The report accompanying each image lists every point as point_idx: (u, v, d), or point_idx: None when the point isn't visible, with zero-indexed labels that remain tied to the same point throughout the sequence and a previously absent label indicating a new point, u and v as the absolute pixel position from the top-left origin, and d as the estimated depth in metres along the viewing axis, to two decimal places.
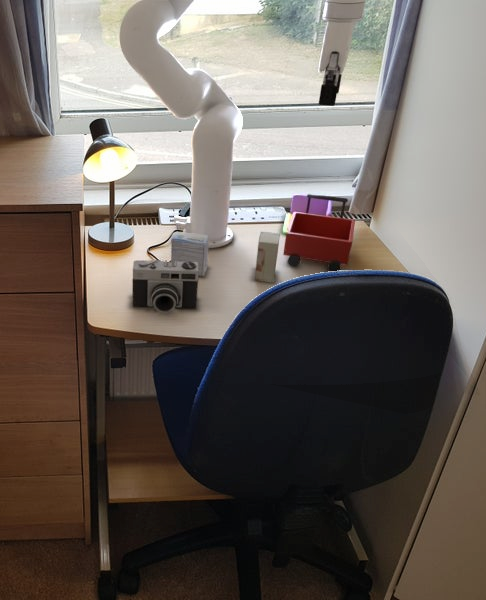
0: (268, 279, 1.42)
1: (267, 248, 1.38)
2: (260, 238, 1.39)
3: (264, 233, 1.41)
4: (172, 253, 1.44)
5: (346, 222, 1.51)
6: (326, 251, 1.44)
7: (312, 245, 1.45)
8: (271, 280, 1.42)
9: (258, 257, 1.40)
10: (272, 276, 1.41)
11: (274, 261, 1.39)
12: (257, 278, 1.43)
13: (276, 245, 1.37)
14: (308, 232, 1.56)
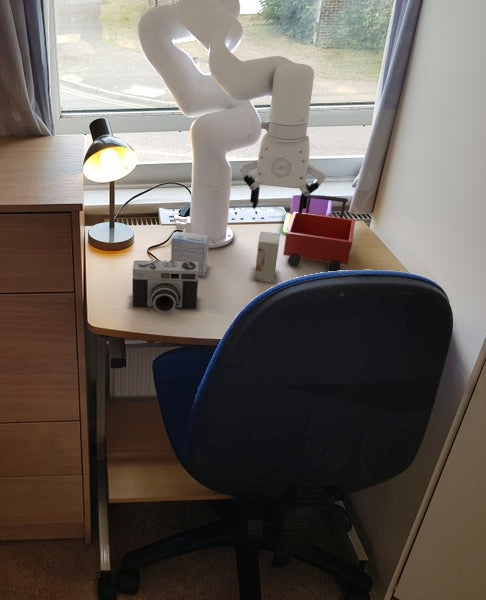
0: (268, 279, 1.42)
1: (267, 248, 1.38)
2: (260, 238, 1.39)
3: (264, 233, 1.41)
4: (172, 253, 1.44)
5: (346, 222, 1.51)
6: (326, 251, 1.44)
7: (312, 245, 1.45)
8: (271, 280, 1.42)
9: (258, 257, 1.40)
10: (272, 276, 1.41)
11: (274, 261, 1.39)
12: (257, 278, 1.43)
13: (276, 245, 1.37)
14: (308, 232, 1.56)
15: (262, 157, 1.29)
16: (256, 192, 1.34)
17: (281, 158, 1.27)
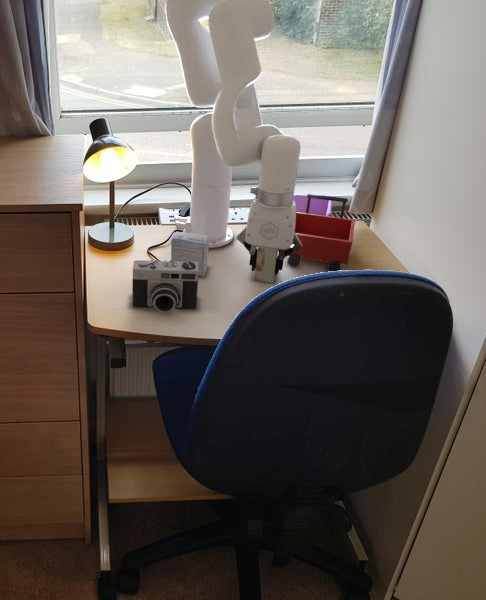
0: (268, 279, 1.42)
1: (267, 248, 1.38)
2: None
3: None
4: (172, 253, 1.44)
5: (346, 222, 1.51)
6: (326, 251, 1.44)
7: (312, 245, 1.45)
8: (271, 280, 1.42)
9: (258, 257, 1.40)
10: (272, 276, 1.41)
11: (274, 261, 1.39)
12: (257, 278, 1.43)
13: None
14: (308, 232, 1.56)
15: (251, 220, 1.36)
16: (255, 257, 1.41)
17: (269, 222, 1.34)
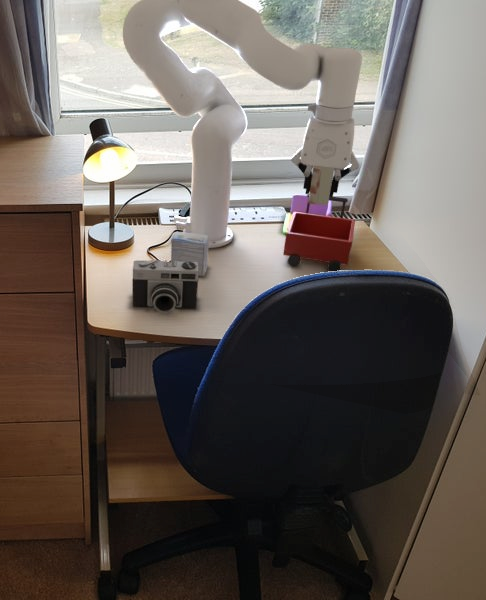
0: (322, 201, 1.40)
1: (323, 168, 1.36)
2: None
3: None
4: (172, 253, 1.44)
5: (346, 222, 1.51)
6: (326, 251, 1.44)
7: (312, 245, 1.45)
8: (326, 203, 1.40)
9: (313, 178, 1.38)
10: (327, 198, 1.39)
11: (330, 182, 1.37)
12: (311, 201, 1.41)
13: None
14: (308, 232, 1.56)
15: (308, 138, 1.34)
16: (310, 179, 1.40)
17: (327, 140, 1.33)
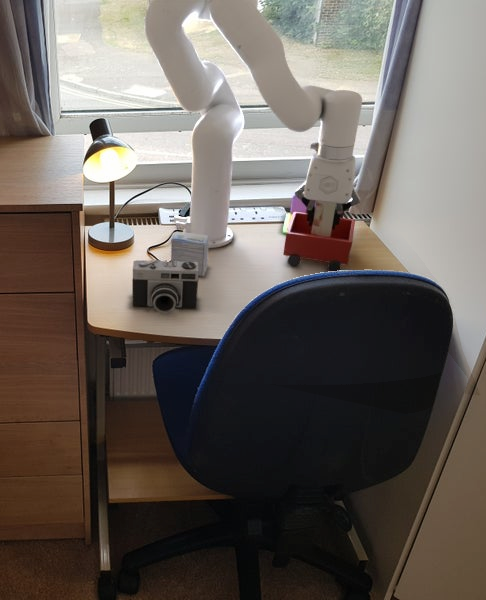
0: (325, 234, 1.46)
1: (325, 202, 1.42)
2: None
3: None
4: (172, 253, 1.44)
5: (346, 222, 1.51)
6: (326, 251, 1.44)
7: (312, 245, 1.45)
8: (328, 235, 1.46)
9: (316, 212, 1.44)
10: (329, 231, 1.45)
11: (332, 215, 1.43)
12: (314, 233, 1.47)
13: None
14: (308, 232, 1.56)
15: (311, 174, 1.40)
16: (313, 212, 1.45)
17: (329, 176, 1.39)
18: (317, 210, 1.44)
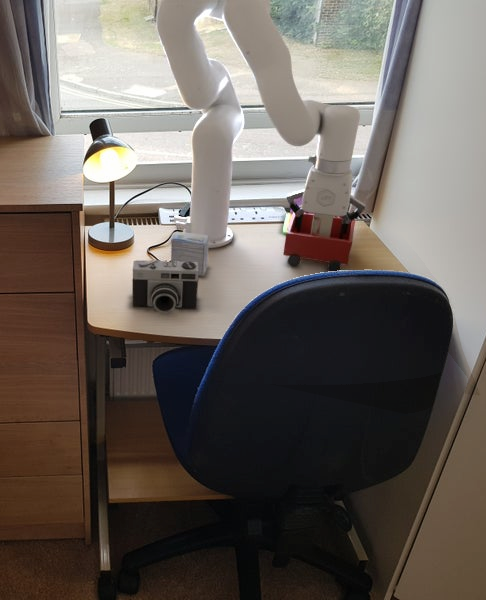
0: None
1: (323, 216, 1.44)
2: None
3: None
4: (172, 253, 1.44)
5: None
6: (326, 251, 1.44)
7: (312, 245, 1.45)
8: None
9: (314, 226, 1.46)
10: None
11: (329, 229, 1.45)
12: None
13: None
14: (308, 232, 1.56)
15: (309, 187, 1.42)
16: (301, 218, 1.47)
17: (326, 189, 1.40)
18: (314, 224, 1.46)
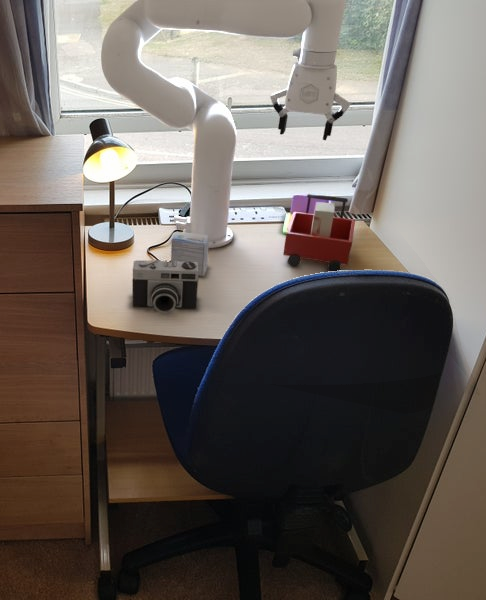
0: None
1: (323, 216, 1.44)
2: (316, 207, 1.45)
3: (319, 203, 1.47)
4: (172, 253, 1.44)
5: (346, 222, 1.51)
6: (326, 251, 1.44)
7: (312, 245, 1.45)
8: None
9: (314, 226, 1.46)
10: None
11: (329, 229, 1.45)
12: None
13: (332, 213, 1.43)
14: (308, 232, 1.56)
15: (292, 83, 1.39)
16: (284, 119, 1.44)
17: (310, 85, 1.37)
18: (314, 224, 1.46)
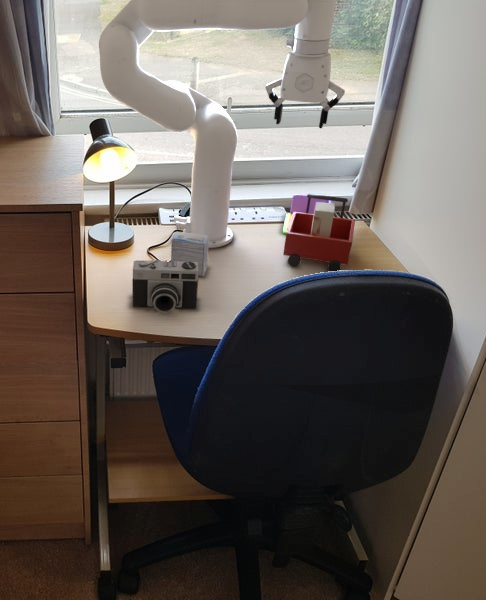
0: None
1: (323, 216, 1.44)
2: (316, 207, 1.45)
3: (319, 203, 1.47)
4: (172, 253, 1.44)
5: (346, 222, 1.51)
6: (326, 251, 1.44)
7: (312, 245, 1.45)
8: None
9: (314, 226, 1.46)
10: None
11: (329, 229, 1.45)
12: None
13: (332, 213, 1.43)
14: (308, 232, 1.56)
15: (287, 72, 1.40)
16: (280, 108, 1.45)
17: (304, 73, 1.38)
18: (314, 224, 1.46)
